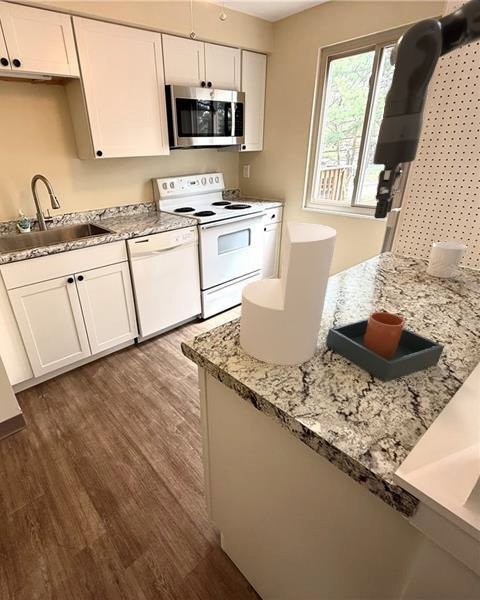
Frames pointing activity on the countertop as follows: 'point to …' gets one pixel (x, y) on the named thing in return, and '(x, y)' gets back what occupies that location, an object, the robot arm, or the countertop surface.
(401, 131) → the robot arm
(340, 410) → the countertop surface
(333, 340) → the tub
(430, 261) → the white cup
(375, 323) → the tumbler
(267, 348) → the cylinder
